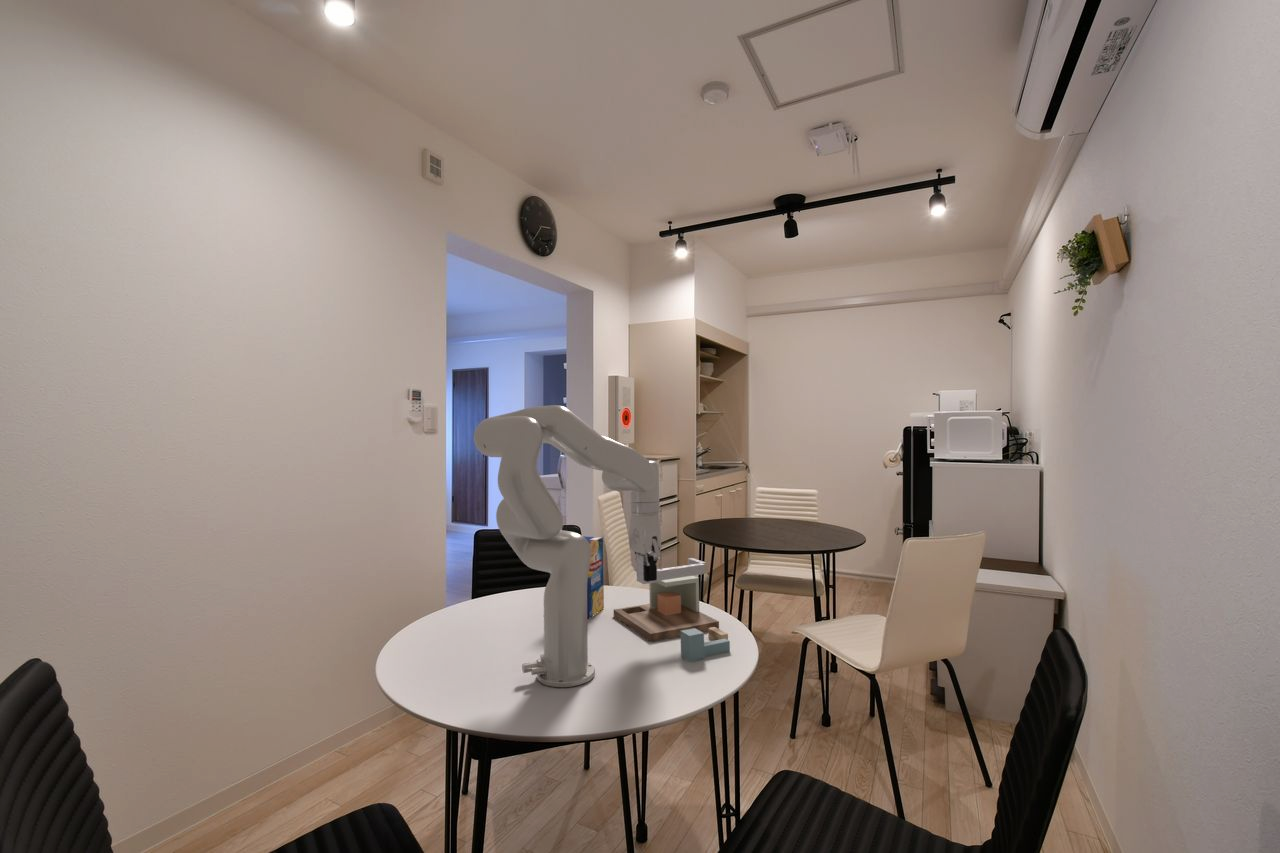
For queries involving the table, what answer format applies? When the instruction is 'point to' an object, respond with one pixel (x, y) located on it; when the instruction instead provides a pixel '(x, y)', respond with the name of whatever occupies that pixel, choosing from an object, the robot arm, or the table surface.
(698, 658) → the light blue l-shaped block
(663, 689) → the table surface
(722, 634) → the short block
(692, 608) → the cubby
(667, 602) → the cube
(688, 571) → the crook
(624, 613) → the deck
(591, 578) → the blue food box
